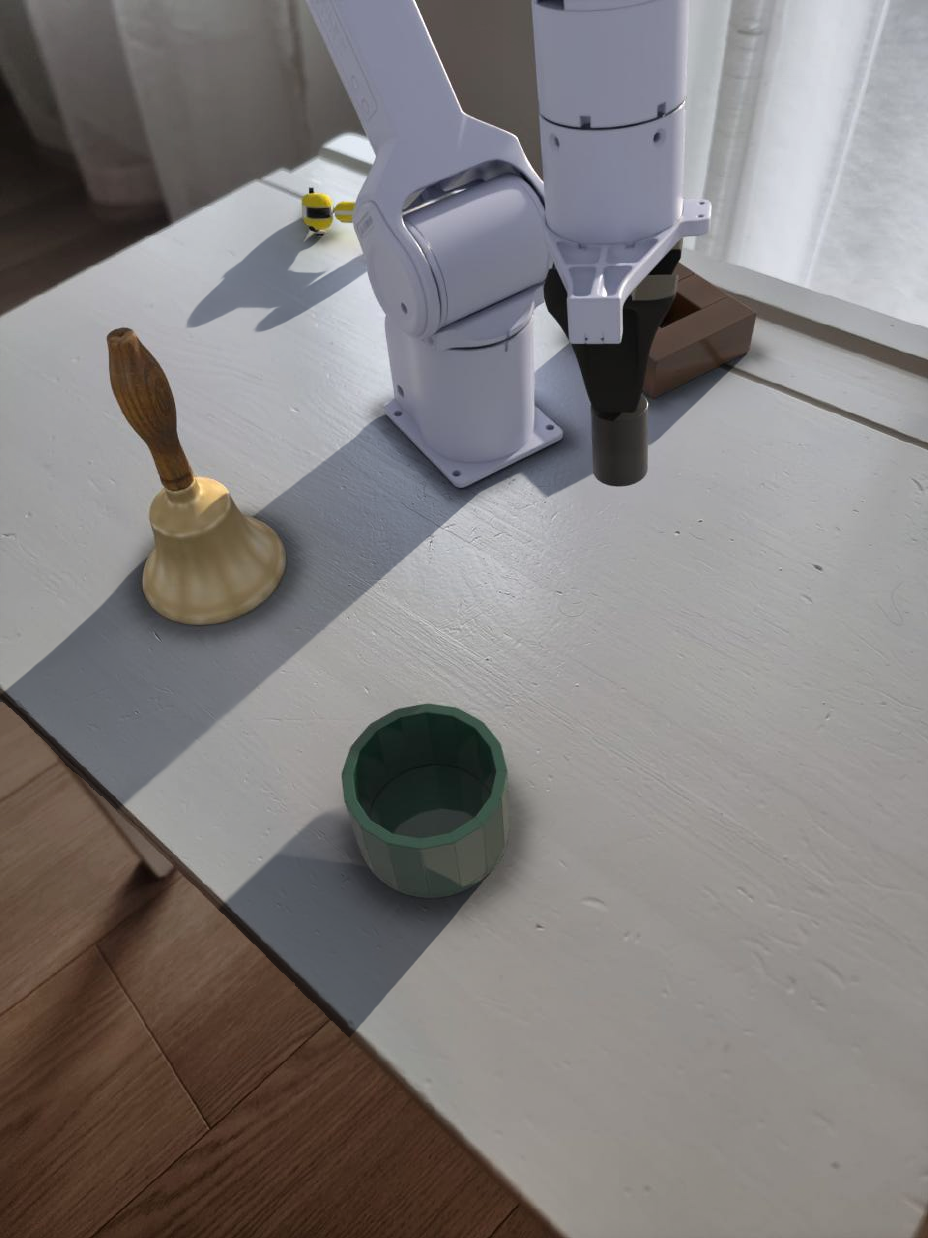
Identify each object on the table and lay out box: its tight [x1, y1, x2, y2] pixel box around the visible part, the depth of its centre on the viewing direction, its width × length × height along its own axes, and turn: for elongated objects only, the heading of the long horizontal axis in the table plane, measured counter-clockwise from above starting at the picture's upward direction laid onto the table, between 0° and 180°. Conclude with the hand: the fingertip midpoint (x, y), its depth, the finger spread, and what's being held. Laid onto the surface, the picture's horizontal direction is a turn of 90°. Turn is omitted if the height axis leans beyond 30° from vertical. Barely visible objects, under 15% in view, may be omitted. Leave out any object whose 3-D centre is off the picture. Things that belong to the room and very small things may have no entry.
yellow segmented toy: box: [301, 187, 430, 238], centre depth 79 cm, size 10×6×4 cm, turn 80°
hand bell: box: [106, 327, 287, 626], centre depth 51 cm, size 8×8×16 cm
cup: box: [340, 703, 511, 899], centre depth 44 cm, size 7×7×5 cm
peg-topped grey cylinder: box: [589, 394, 649, 488], centre depth 49 cm, size 3×3×8 cm
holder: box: [642, 261, 758, 400], centre depth 67 cm, size 8×8×3 cm
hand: (617, 397), depth 49 cm, fingers closed on peg-topped grey cylinder
